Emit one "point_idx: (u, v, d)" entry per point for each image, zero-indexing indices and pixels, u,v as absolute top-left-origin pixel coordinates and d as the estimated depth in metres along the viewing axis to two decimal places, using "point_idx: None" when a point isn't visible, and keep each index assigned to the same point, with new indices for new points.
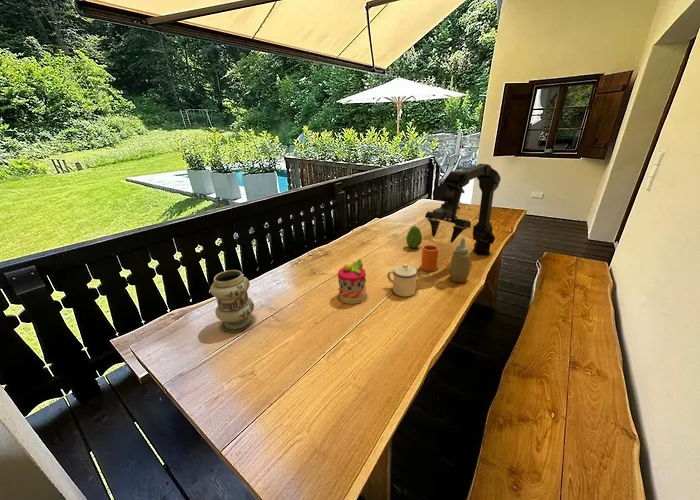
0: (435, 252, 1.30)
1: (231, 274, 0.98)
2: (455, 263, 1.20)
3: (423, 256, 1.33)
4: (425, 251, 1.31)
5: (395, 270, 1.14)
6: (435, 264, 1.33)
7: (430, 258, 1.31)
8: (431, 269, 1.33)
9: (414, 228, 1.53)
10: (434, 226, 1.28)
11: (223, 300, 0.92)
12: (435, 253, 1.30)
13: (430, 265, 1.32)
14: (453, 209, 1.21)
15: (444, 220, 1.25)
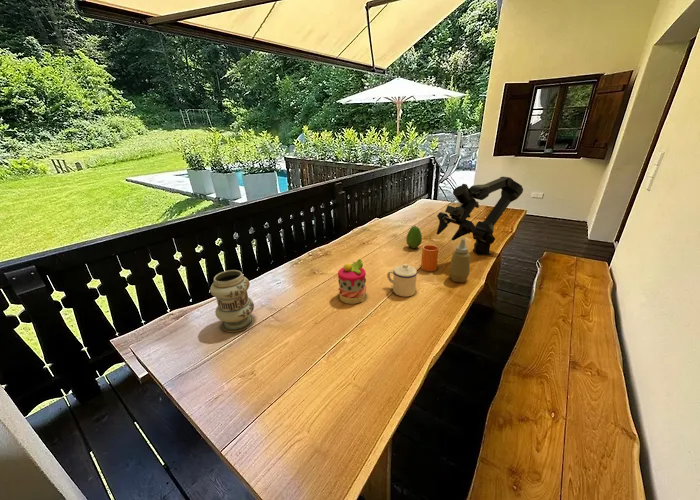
0: (435, 252, 1.30)
1: (231, 274, 0.98)
2: (455, 263, 1.20)
3: (423, 256, 1.33)
4: (425, 251, 1.31)
5: (395, 270, 1.14)
6: (435, 264, 1.33)
7: (430, 258, 1.31)
8: (431, 269, 1.33)
9: (414, 228, 1.53)
10: (441, 225, 1.38)
11: (223, 300, 0.92)
12: (435, 253, 1.30)
13: (430, 265, 1.32)
14: (464, 213, 1.32)
15: (453, 221, 1.35)
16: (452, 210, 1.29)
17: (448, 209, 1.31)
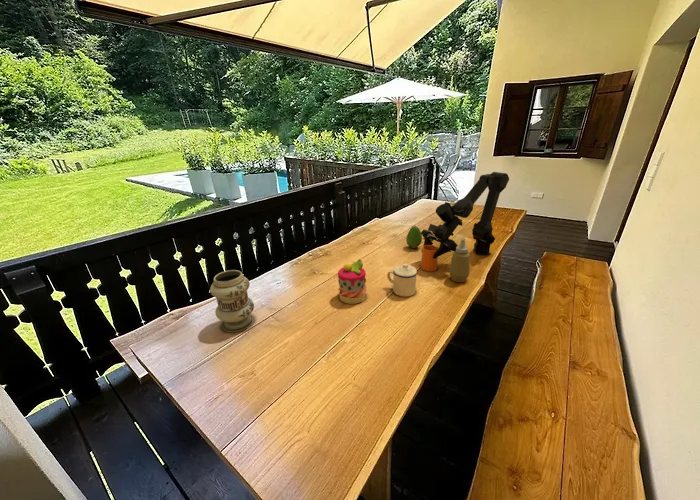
0: (435, 252, 1.30)
1: (231, 274, 0.98)
2: (455, 263, 1.20)
3: (423, 256, 1.33)
4: (425, 251, 1.31)
5: (395, 270, 1.14)
6: (435, 264, 1.33)
7: (430, 258, 1.31)
8: (431, 269, 1.33)
9: (414, 228, 1.53)
10: (426, 243, 1.36)
11: (223, 300, 0.92)
12: None
13: (430, 265, 1.32)
14: (447, 231, 1.31)
15: (436, 240, 1.34)
16: (434, 229, 1.28)
17: (431, 228, 1.29)
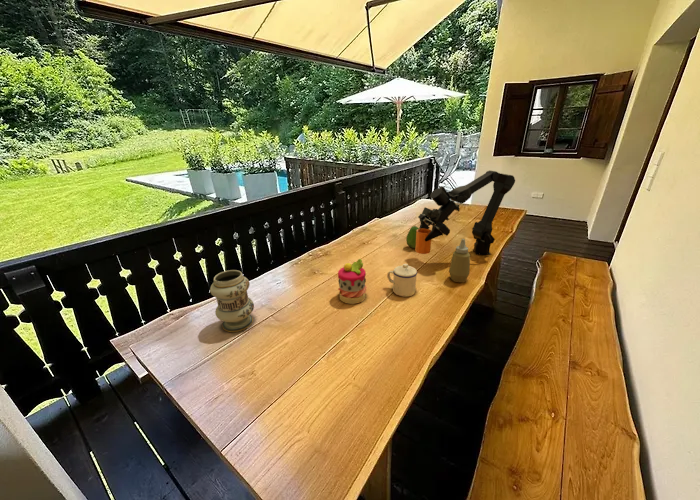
0: (427, 235, 1.33)
1: (231, 274, 0.98)
2: (455, 263, 1.20)
3: (416, 239, 1.37)
4: (418, 234, 1.35)
5: (395, 270, 1.14)
6: (428, 247, 1.36)
7: (422, 241, 1.34)
8: (423, 252, 1.36)
9: (414, 228, 1.53)
10: (422, 227, 1.39)
11: (223, 300, 0.92)
12: None
13: (422, 248, 1.36)
14: (442, 215, 1.33)
15: (431, 223, 1.37)
16: (427, 212, 1.31)
17: (424, 211, 1.33)
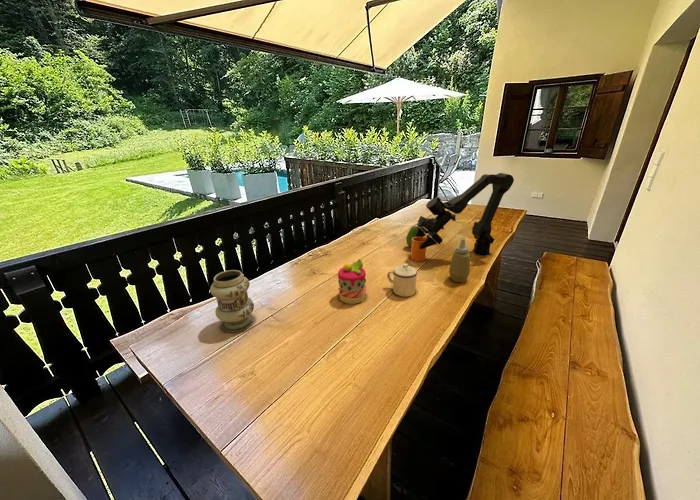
0: (421, 243, 1.40)
1: (231, 274, 0.98)
2: (455, 263, 1.20)
3: (411, 246, 1.44)
4: (412, 241, 1.42)
5: (395, 270, 1.14)
6: (422, 255, 1.42)
7: (416, 248, 1.41)
8: (417, 259, 1.43)
9: (414, 228, 1.53)
10: (418, 234, 1.47)
11: (223, 300, 0.92)
12: (421, 244, 1.40)
13: (416, 255, 1.43)
14: (436, 225, 1.39)
15: (426, 232, 1.43)
16: (421, 221, 1.37)
17: (419, 219, 1.39)
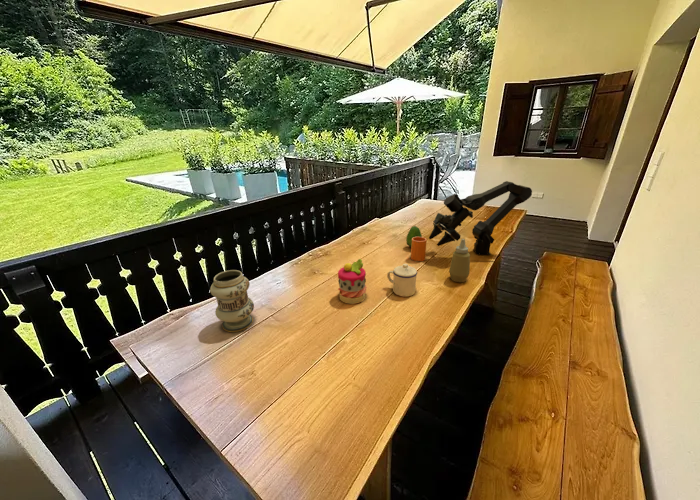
0: (421, 243, 1.40)
1: (231, 274, 0.98)
2: (455, 263, 1.20)
3: (411, 246, 1.44)
4: (412, 241, 1.42)
5: (395, 270, 1.14)
6: (422, 255, 1.42)
7: (416, 248, 1.41)
8: (417, 259, 1.43)
9: (414, 228, 1.53)
10: (434, 231, 1.48)
11: (223, 300, 0.92)
12: (421, 244, 1.40)
13: (416, 255, 1.43)
14: (454, 221, 1.40)
15: (444, 228, 1.44)
16: (439, 217, 1.38)
17: (437, 216, 1.40)
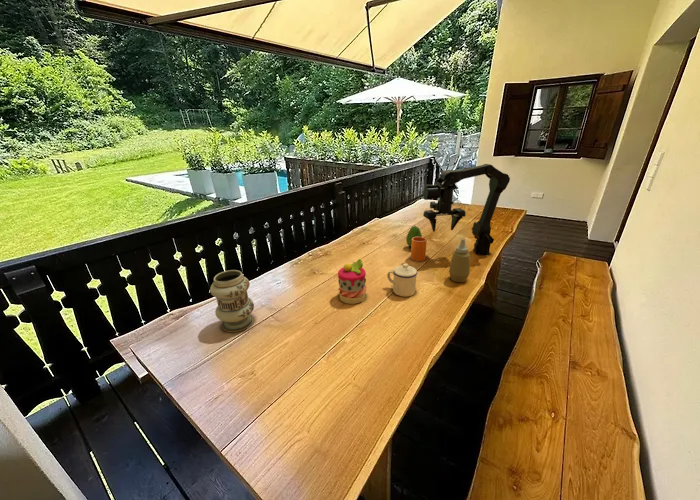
0: (421, 243, 1.40)
1: (231, 274, 0.98)
2: (455, 263, 1.20)
3: (411, 246, 1.44)
4: (412, 241, 1.42)
5: (395, 270, 1.14)
6: (422, 255, 1.42)
7: (416, 248, 1.41)
8: (417, 259, 1.43)
9: (414, 228, 1.53)
10: (452, 220, 1.44)
11: (223, 300, 0.92)
12: (421, 244, 1.40)
13: (416, 255, 1.43)
14: (439, 203, 1.40)
15: None
16: None
17: None
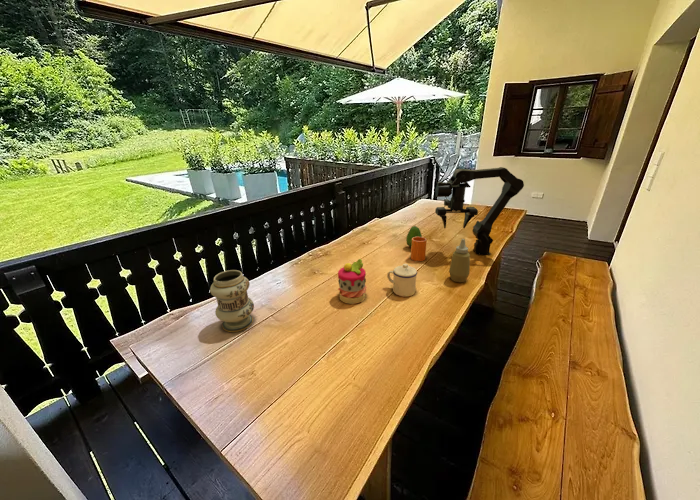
0: (421, 243, 1.40)
1: (231, 274, 0.98)
2: (455, 263, 1.20)
3: (411, 246, 1.44)
4: (412, 241, 1.42)
5: (395, 270, 1.14)
6: (422, 255, 1.42)
7: (416, 248, 1.41)
8: (417, 259, 1.43)
9: (414, 228, 1.53)
10: (464, 219, 1.46)
11: (223, 300, 0.92)
12: (421, 244, 1.40)
13: (416, 255, 1.43)
14: None
15: None
16: None
17: None
